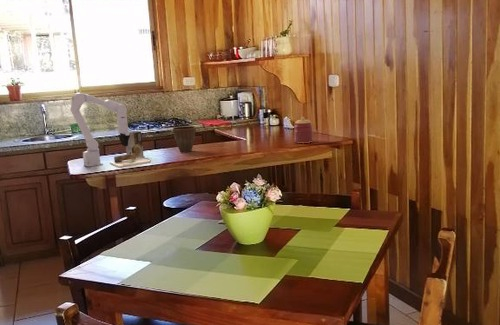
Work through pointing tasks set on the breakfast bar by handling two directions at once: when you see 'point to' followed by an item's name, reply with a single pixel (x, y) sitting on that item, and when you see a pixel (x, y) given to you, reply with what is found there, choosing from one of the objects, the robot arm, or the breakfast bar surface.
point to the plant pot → (184, 137)
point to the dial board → (130, 162)
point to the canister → (303, 130)
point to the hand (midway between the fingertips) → (124, 145)
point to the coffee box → (135, 144)
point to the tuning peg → (124, 157)
